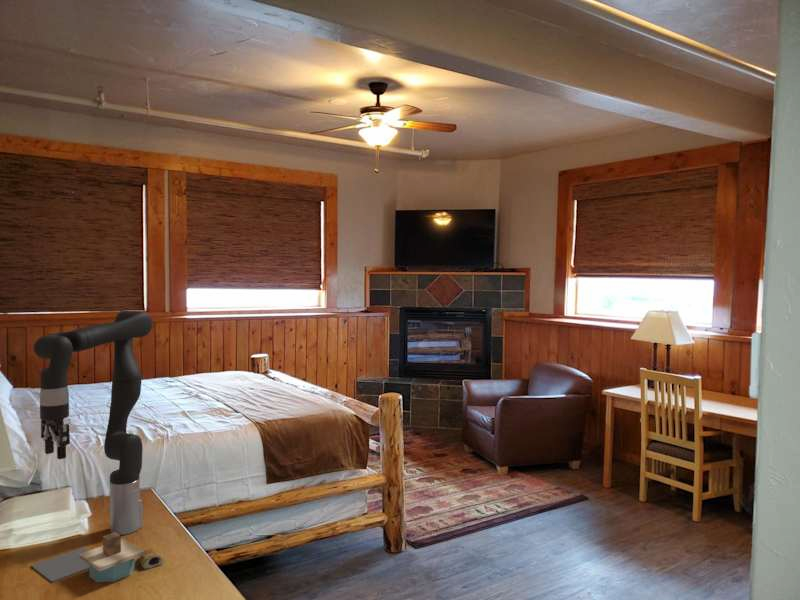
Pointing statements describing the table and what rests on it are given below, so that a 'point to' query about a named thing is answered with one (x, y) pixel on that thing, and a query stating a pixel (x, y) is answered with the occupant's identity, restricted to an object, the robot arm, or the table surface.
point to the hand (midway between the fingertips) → (55, 455)
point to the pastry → (151, 559)
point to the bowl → (112, 572)
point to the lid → (111, 552)
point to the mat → (62, 565)
